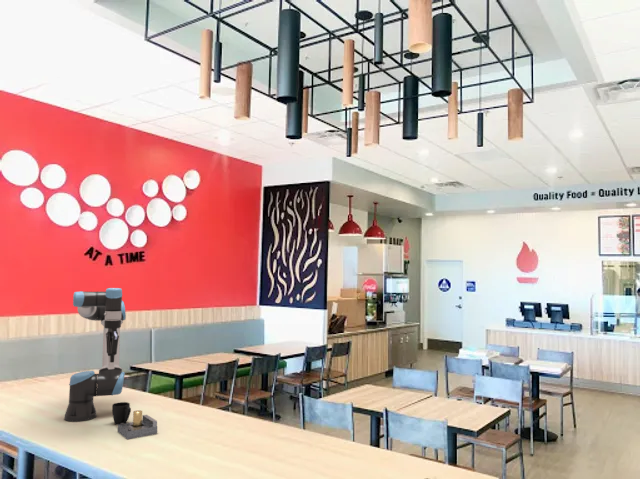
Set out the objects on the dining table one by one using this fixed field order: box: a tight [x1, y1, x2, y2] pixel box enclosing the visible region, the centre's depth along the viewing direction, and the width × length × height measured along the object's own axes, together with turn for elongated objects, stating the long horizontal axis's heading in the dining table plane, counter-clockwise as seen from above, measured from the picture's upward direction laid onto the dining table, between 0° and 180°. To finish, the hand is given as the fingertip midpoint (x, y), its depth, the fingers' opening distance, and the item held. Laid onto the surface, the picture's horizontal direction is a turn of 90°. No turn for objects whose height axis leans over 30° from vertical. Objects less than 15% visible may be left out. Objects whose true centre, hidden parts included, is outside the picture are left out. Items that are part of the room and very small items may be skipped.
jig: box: [117, 414, 158, 440], centre depth 246 cm, size 14×14×6 cm
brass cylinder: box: [132, 409, 143, 428], centre depth 246 cm, size 4×4×10 cm
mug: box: [111, 401, 132, 426], centre depth 260 cm, size 8×12×10 cm
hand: (111, 368), depth 250 cm, fingers closed
